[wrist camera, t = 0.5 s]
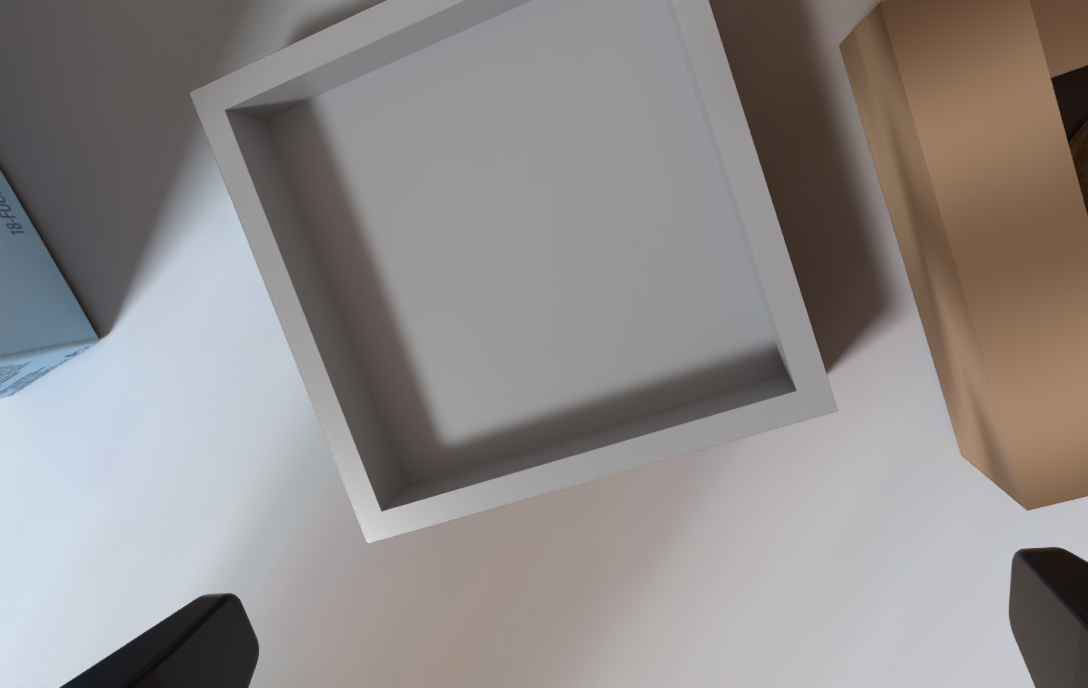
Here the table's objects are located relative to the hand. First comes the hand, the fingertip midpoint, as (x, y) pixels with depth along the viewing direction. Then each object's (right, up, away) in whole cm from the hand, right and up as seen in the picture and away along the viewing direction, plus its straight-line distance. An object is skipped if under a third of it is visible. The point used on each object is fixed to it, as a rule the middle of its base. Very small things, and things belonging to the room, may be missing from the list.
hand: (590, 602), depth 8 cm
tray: (-1, +6, +14) cm, 15 cm away
